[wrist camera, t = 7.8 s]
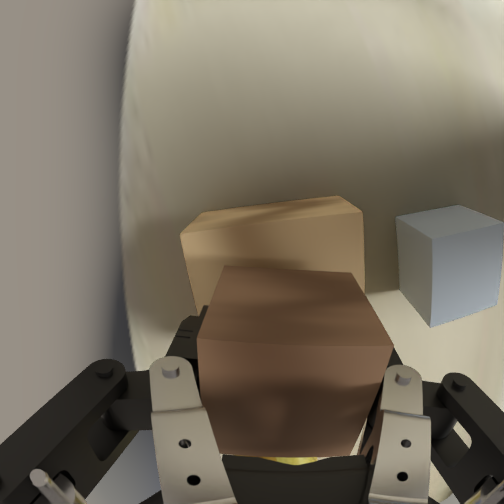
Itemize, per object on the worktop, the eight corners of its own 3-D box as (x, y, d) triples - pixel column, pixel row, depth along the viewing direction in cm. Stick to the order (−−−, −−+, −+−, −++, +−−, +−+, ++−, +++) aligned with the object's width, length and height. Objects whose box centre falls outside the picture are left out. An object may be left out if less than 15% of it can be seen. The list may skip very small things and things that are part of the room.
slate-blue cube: (458, 204, 17) (503, 222, 12) (458, 273, 18) (497, 304, 14) (394, 216, 17) (432, 238, 13) (399, 289, 19) (429, 327, 14)
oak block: (337, 194, 17) (362, 211, 13) (343, 315, 20) (361, 360, 15) (202, 211, 18) (179, 233, 13) (225, 328, 21) (214, 376, 16)
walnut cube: (351, 272, 12) (394, 345, 7) (331, 370, 13) (349, 455, 9) (224, 265, 12) (196, 338, 7) (223, 365, 14) (206, 451, 9)
